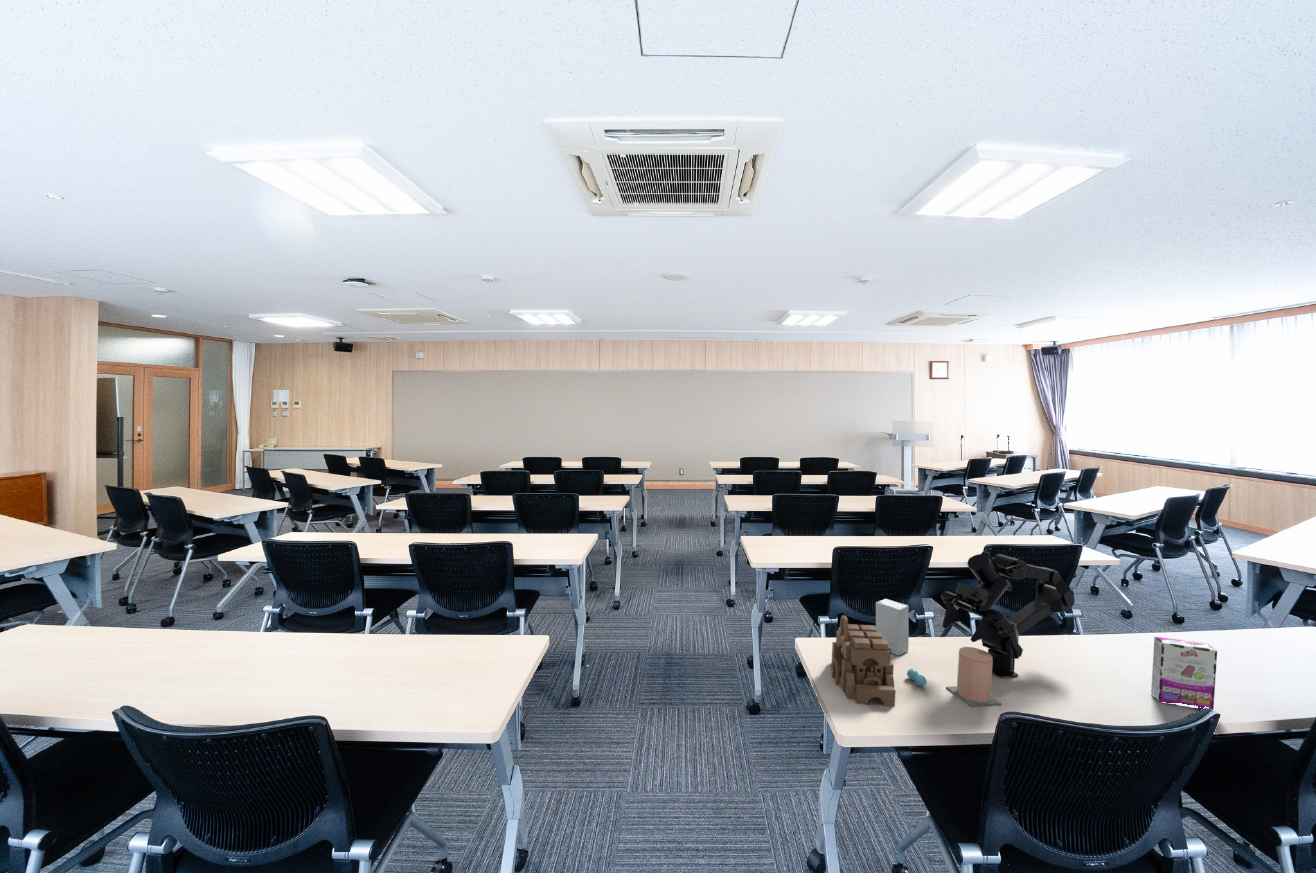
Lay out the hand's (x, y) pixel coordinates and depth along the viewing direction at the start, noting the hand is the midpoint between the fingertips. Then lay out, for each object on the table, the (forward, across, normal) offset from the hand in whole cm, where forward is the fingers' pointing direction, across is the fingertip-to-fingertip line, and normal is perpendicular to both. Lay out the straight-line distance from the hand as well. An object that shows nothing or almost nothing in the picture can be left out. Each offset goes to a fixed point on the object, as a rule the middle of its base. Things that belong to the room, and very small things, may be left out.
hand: (957, 633), depth 147 cm
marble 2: (+18, -1, +1) cm, 18 cm away
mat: (+11, +8, +8) cm, 16 cm away
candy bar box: (-25, +26, +45) cm, 58 cm away
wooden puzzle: (+29, -7, -9) cm, 31 cm away
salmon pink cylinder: (+11, +8, +8) cm, 15 cm away
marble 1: (+18, -4, +2) cm, 18 cm away
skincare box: (+12, -21, +8) cm, 25 cm away
